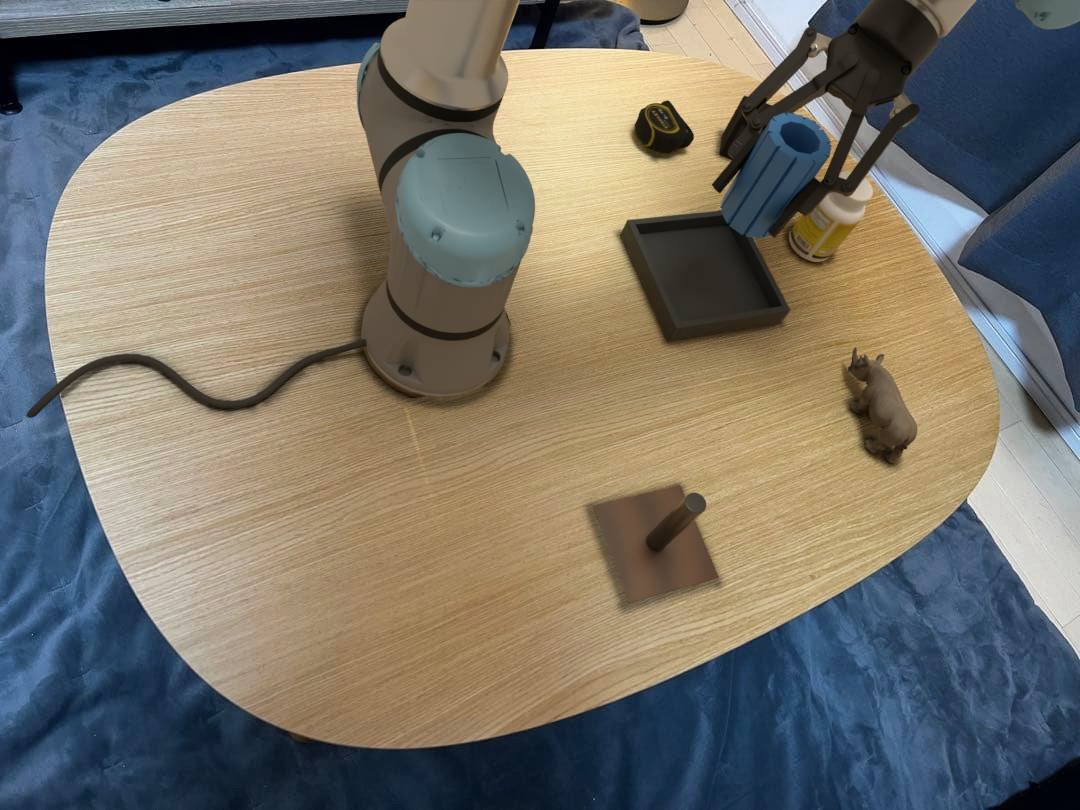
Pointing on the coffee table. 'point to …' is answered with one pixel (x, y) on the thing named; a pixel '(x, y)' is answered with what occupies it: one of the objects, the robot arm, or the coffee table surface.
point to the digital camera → (737, 128)
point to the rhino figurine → (883, 406)
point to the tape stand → (656, 542)
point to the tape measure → (662, 128)
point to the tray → (702, 275)
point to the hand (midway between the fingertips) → (743, 211)
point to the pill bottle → (829, 222)
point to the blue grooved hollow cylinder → (775, 173)
